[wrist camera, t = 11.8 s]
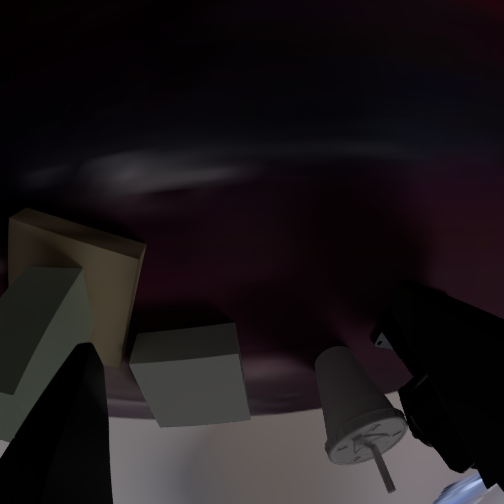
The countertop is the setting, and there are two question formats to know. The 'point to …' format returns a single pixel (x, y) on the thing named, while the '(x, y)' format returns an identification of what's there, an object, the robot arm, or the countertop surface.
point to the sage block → (38, 336)
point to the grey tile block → (191, 375)
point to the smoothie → (356, 412)
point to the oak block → (94, 266)
